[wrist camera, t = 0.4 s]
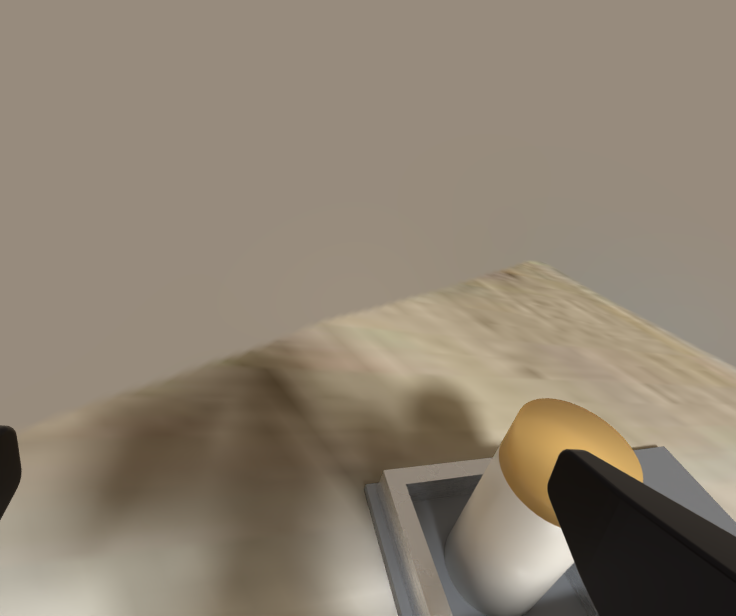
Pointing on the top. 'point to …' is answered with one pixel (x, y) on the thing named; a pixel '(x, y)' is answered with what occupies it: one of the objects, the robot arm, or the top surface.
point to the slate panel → (560, 604)
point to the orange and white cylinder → (525, 508)
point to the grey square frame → (409, 539)
